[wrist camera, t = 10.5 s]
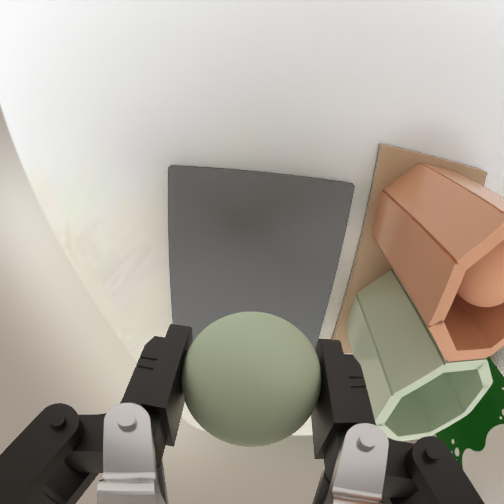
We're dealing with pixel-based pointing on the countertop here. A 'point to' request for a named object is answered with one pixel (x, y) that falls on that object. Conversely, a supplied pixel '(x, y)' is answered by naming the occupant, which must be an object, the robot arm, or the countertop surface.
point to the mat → (253, 245)
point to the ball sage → (251, 379)
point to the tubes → (422, 293)
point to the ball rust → (485, 280)
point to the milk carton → (482, 441)
